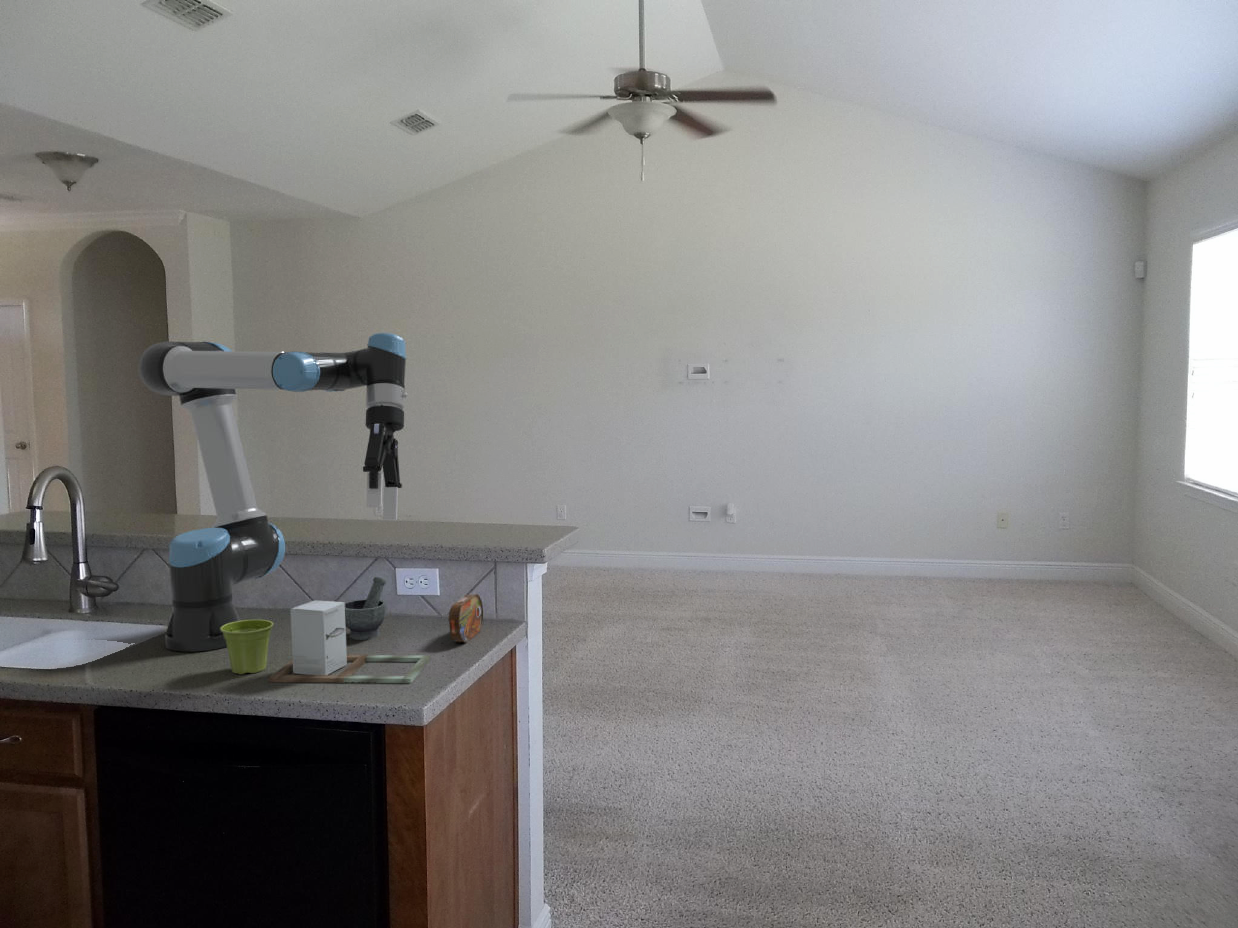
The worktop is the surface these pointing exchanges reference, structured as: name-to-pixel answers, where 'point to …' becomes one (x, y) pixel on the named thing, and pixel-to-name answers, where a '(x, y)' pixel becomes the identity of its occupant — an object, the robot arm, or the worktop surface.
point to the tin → (466, 618)
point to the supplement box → (318, 637)
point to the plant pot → (247, 644)
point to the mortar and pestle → (366, 613)
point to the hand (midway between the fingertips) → (382, 513)
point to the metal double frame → (358, 662)
